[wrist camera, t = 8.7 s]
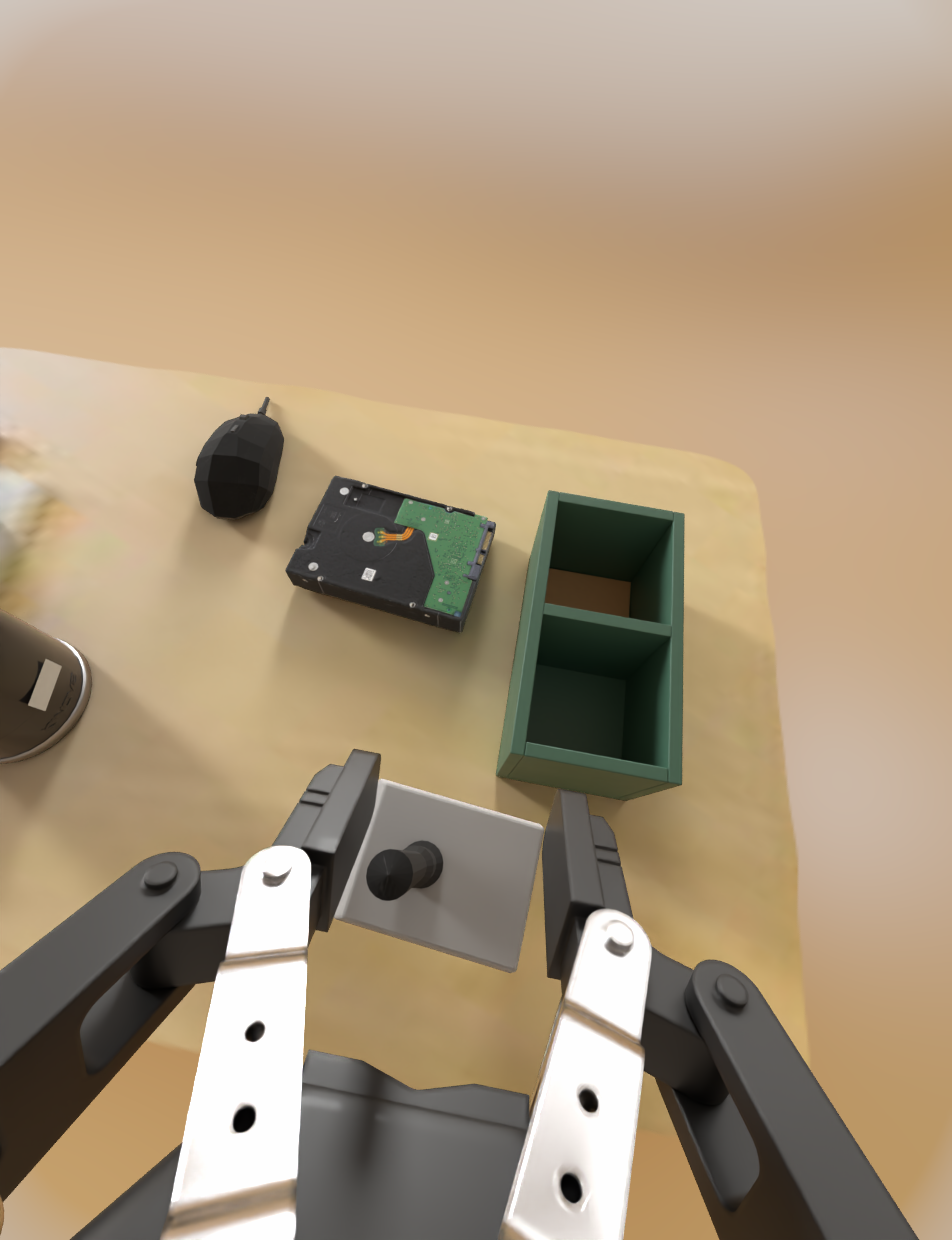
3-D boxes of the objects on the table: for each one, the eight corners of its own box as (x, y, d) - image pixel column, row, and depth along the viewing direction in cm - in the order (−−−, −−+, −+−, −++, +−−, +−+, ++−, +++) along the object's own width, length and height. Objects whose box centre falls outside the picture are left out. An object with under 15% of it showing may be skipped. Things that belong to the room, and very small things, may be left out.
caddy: (495, 776, 37) (509, 753, 28) (528, 561, 45) (548, 489, 36) (626, 801, 37) (682, 785, 28) (638, 580, 45) (685, 513, 36)
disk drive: (292, 590, 43) (463, 636, 42) (282, 573, 40) (464, 622, 39) (339, 493, 47) (495, 533, 46) (332, 473, 45) (498, 514, 43)
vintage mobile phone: (480, 911, 28) (605, 1146, 6) (393, 885, 29) (172, 1003, 6) (497, 839, 30) (648, 792, 7) (414, 815, 30) (303, 695, 7)
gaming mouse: (300, 402, 51) (288, 368, 48) (265, 527, 45) (249, 498, 41) (236, 397, 51) (220, 362, 47) (193, 521, 45) (170, 492, 41)
